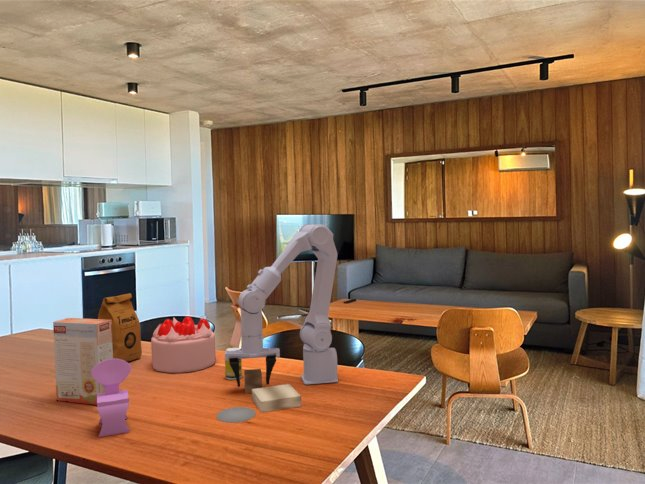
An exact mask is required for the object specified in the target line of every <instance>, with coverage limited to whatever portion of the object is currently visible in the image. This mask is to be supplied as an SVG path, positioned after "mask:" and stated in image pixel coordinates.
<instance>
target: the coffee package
mask: <svg viewBox="0 0 645 484" xmlns="http://www.w3.org/2000/svg"><path fill="white" fill-rule="evenodd" d="M132 298H133V296H132V293H130V292H129V293H125V294H120V295H116V296H114V295H113V296H108V297H104V298H103V299H102V303H101V306H100V308H99V311H98V316H97V319H103V320H111V322H112V347H113V359H121V360H124V361H126V362H128V363H129V362H131V361H134V360H137V359H140V358H141V357H142V354H143V352H142V350H143V349H142V338H141V337H142V336H141V335H142V333H141V331H142V330H141V324H140V320H139V318H138V314H137V313H136V311H135V309H134V306H133V302H132V301H131V299H132Z"/></svg>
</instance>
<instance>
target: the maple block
mask: <svg viewBox="0 0 645 484" xmlns="http://www.w3.org/2000/svg"><path fill="white" fill-rule="evenodd" d="M251 400H252V401H253V403H254V404H255V406H256V408H257V409H258V410H259V411H260V413H267V412H272V411H273V412H274V411H279V410H286V409H293V408H298V407H299V408H300V407H302V395H301V394H300V393H299V392H298V391H297V390H295V388H294V387H293V386H292V385H291V384H290V383H286V384H278V385H272V386H265V387H263V386H262V388H256V389H252V393H251Z"/></svg>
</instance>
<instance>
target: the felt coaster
mask: <svg viewBox="0 0 645 484" xmlns="http://www.w3.org/2000/svg"><path fill="white" fill-rule="evenodd" d="M255 416H256V411H255V410H254V409H253V408H249V407H245V406H242V407H241V406H237V407H236V406H235V407H230V408H225V409H223V410H220V411H219V412H218V413H217V414H216V419H217V420H218V421H220V422H222V423H229V424H235V423H236V424H237V423H242V422H243V423H244V422H247V421H250V420H251V419H253V418H254V417H255Z"/></svg>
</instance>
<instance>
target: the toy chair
mask: <svg viewBox="0 0 645 484" xmlns="http://www.w3.org/2000/svg"><path fill="white" fill-rule="evenodd" d="M131 371H132V366H131V364H130V363H129V361H128V362H126V361H124V360H121V359H107V360H104V361H102V362H100V363H98V364H97V365H96V366H95V367H94V368H93V369H92V371H91V374H92V377H93V378H94V379H95V380H96V381H97V382H98V383H99V384H102V385H104V386H105V393H99V394H97V405H96V408H97V413H98V415H99V416H100V419H99V421H98V424H99V425H100V424H101V429H100V432H99V435H98V438H102V437H108V436H114V435H119V434H125V433H130V428H129V426H128V425H127V421H126V420H128V419H129V417H128V416H127V413H128V412H127V411H129V410H128V409H129V407H130V401H129V400H130V399H129V393H128V392H129V391H128V389H122V390H120V384H121V383H123V382H124V381H126V380H127V378H128V377H129V375H130V373H131ZM125 419H126V420H125Z"/></svg>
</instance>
